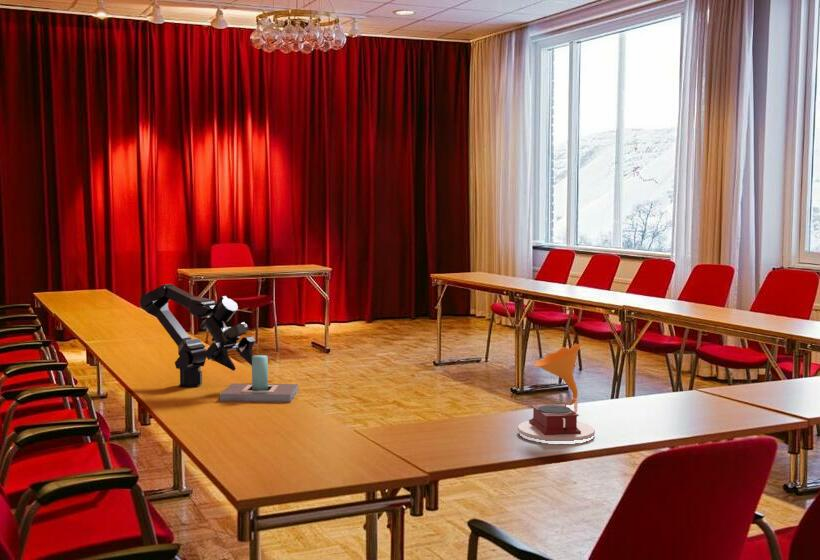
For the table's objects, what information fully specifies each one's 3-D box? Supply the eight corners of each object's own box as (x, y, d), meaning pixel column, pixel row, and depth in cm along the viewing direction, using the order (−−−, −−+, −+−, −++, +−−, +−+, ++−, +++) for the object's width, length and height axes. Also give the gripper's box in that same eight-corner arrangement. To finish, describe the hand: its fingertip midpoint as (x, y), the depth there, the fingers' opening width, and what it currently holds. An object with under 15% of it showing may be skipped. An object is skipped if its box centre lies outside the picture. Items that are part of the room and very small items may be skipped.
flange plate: (220, 401, 282) (220, 393, 282) (231, 390, 298) (231, 382, 298) (290, 402, 282) (290, 393, 281) (298, 391, 298) (298, 383, 297)
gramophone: (578, 424, 256) (580, 336, 254) (606, 443, 236) (608, 348, 234) (508, 427, 253) (510, 338, 250) (531, 446, 233) (532, 350, 230)
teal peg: (249, 397, 289) (248, 356, 288) (259, 394, 293) (259, 354, 292) (260, 398, 287) (260, 358, 285) (271, 396, 291) (270, 356, 290)
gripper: (211, 318, 286) (237, 356, 281) (251, 312, 302) (277, 348, 297) (193, 340, 291) (219, 378, 286) (233, 333, 307) (258, 369, 302)
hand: (244, 367), depth 293 cm, fingers open, 9 cm apart
